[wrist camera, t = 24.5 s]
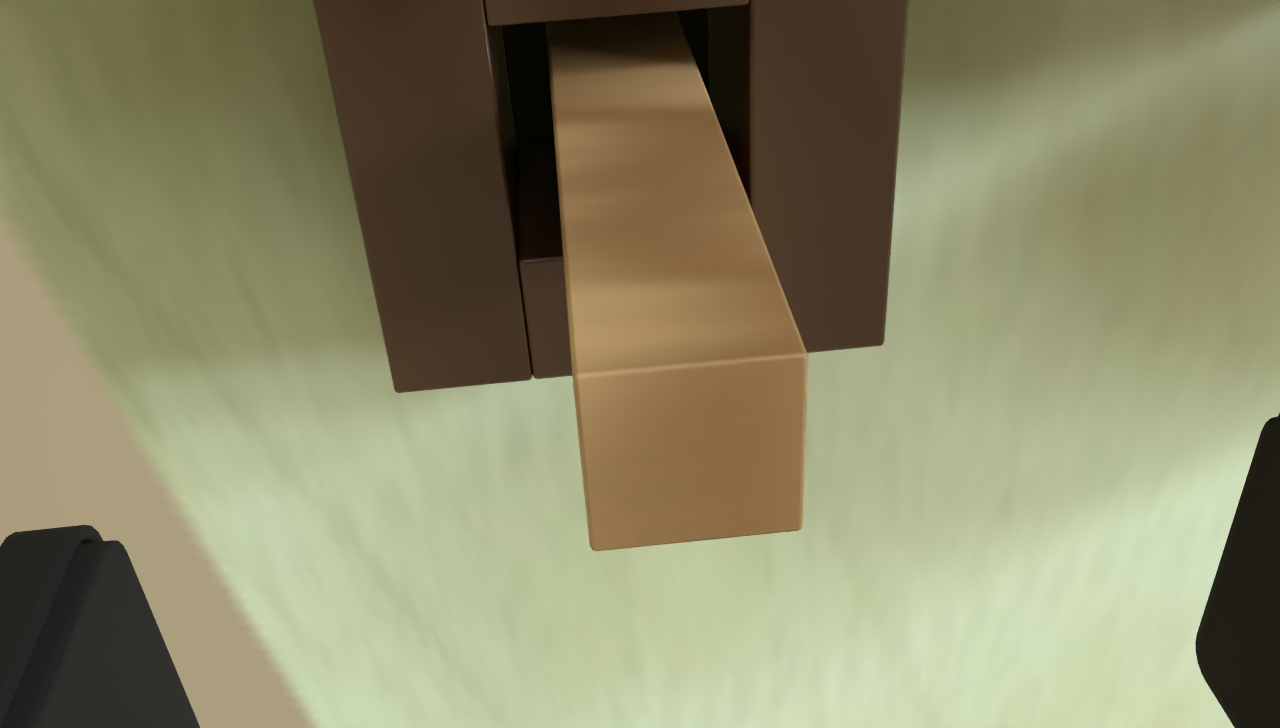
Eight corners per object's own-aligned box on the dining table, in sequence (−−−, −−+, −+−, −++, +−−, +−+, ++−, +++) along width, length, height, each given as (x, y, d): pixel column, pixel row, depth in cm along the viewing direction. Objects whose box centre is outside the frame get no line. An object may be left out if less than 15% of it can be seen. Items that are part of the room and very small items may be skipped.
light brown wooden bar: (555, 115, 24) (590, 553, 13) (543, -4, 23) (572, 377, 12) (672, 105, 24) (804, 532, 13) (668, -14, 23) (809, 354, 12)
